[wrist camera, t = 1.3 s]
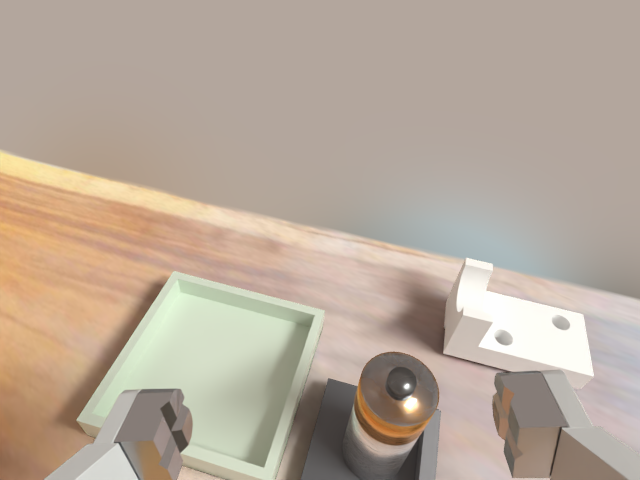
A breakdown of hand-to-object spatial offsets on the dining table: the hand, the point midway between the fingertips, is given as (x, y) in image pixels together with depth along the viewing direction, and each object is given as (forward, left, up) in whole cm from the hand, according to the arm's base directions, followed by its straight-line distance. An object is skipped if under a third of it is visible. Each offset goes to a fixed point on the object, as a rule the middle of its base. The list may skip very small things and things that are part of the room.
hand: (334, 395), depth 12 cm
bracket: (+15, +24, -29) cm, 41 cm away
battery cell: (+4, +9, -27) cm, 29 cm away
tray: (-11, +12, -28) cm, 33 cm away
